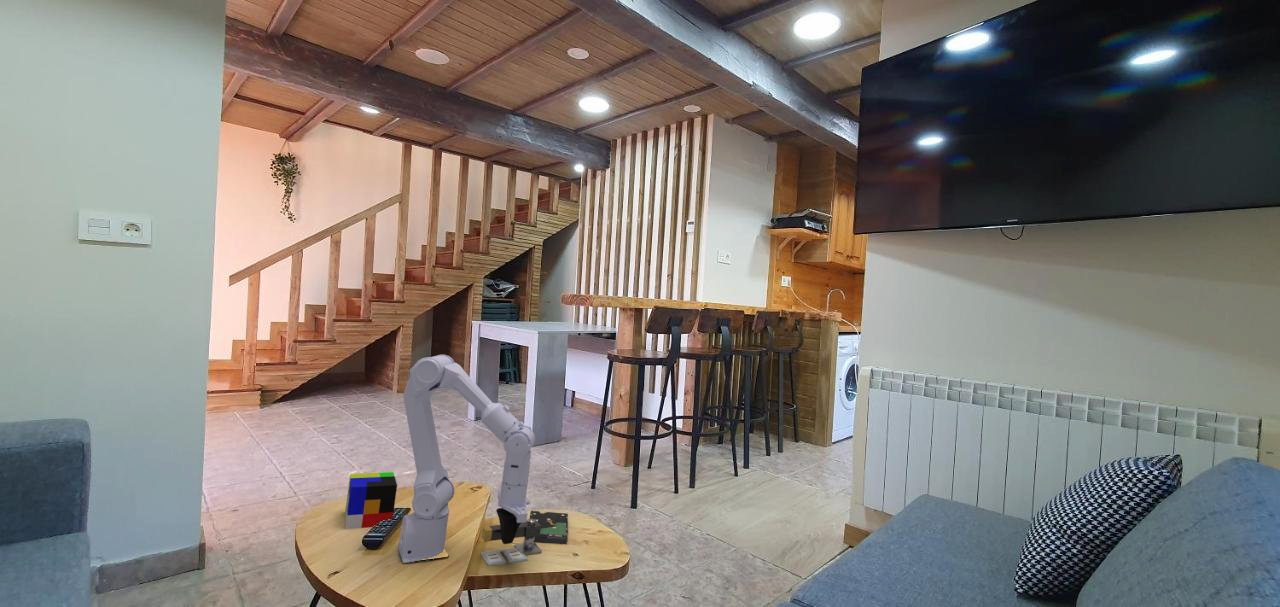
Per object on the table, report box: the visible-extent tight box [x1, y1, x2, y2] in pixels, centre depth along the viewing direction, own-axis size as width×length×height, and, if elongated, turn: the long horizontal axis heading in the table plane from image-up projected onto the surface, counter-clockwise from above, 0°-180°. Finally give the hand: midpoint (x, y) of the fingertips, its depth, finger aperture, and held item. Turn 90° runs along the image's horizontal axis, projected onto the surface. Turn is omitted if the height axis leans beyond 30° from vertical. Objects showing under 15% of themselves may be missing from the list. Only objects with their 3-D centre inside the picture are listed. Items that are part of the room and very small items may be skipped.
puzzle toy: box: [344, 471, 398, 530], centre depth 131 cm, size 10×10×10 cm
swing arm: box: [481, 520, 541, 543], centre depth 123 cm, size 13×4×2 cm, turn 122°
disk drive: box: [528, 510, 569, 545], centre depth 137 cm, size 10×3×15 cm
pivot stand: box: [513, 518, 543, 556], centre depth 125 cm, size 5×5×7 cm
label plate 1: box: [480, 549, 507, 567], centre depth 119 cm, size 4×6×1 cm, turn 32°
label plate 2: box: [501, 547, 528, 564], centre depth 122 cm, size 4×6×1 cm, turn 32°
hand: (507, 542), depth 118 cm, fingers closed
